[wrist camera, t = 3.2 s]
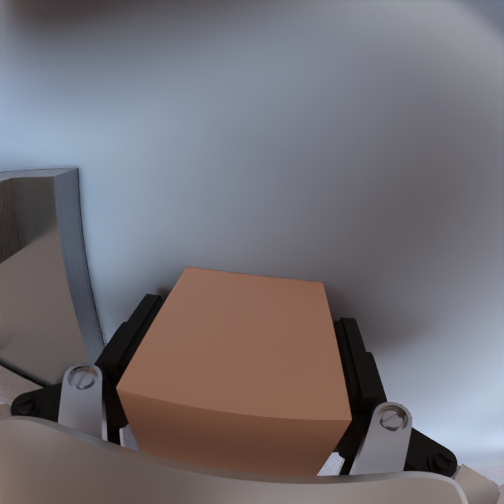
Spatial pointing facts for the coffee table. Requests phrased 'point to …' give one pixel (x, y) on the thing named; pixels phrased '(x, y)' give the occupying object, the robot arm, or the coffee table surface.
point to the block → (239, 376)
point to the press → (45, 280)
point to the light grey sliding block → (13, 386)
